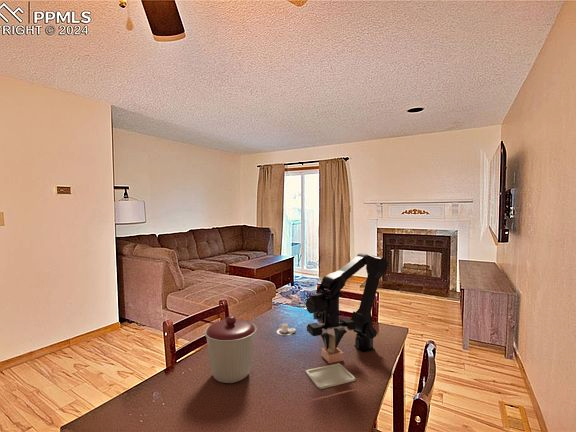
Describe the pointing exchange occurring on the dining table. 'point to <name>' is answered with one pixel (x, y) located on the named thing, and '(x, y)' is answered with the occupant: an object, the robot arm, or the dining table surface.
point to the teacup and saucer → (286, 329)
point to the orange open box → (332, 355)
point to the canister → (230, 348)
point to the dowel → (331, 344)
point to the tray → (330, 375)
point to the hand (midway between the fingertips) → (331, 348)
